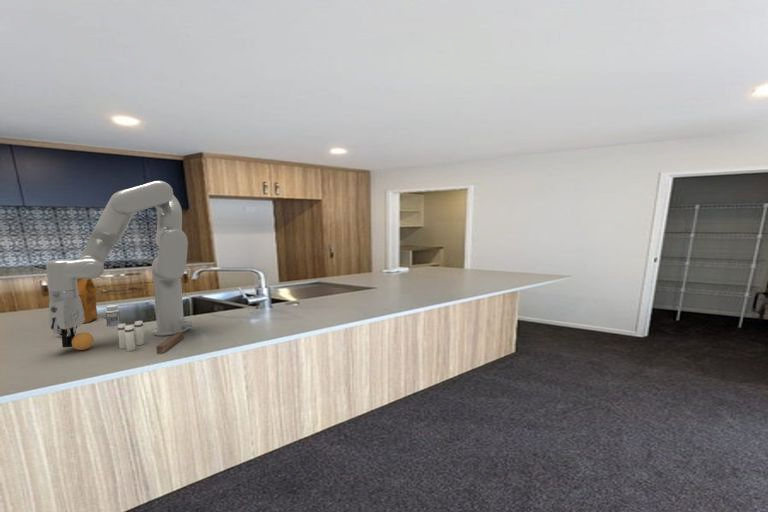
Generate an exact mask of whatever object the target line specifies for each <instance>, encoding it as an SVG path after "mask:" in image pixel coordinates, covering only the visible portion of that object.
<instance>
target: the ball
mask: <svg viewBox="0 0 768 512" xmlns="http://www.w3.org/2000/svg"><path fill="white" fill-rule="evenodd" d="M94 341H95V340H94V336H93V335H92V334H91V333H88V332H80V333H77V334H75V336H74V338H73V339H72V346H73V347H72V348H74V349H75V350H78V351H85V350H87V349H89V348H91V347H92V346H93V344H94Z"/></svg>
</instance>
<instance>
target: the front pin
mask: <svg viewBox="0 0 768 512" xmlns="http://www.w3.org/2000/svg"><path fill="white" fill-rule="evenodd" d="M125 326H127V323H120V324H118V325H117V333H118V345H119V349H120V350H121V349H122V350H123V349H126V336H125Z"/></svg>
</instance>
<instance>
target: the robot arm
mask: <svg viewBox="0 0 768 512" xmlns="http://www.w3.org/2000/svg"><path fill="white" fill-rule="evenodd" d="M173 190H174V189H173V187H172V186H171V185H170V184H169V183H167V182H166V181H164V180H163V181H162V180H154V181H150V182H147V183H144V184H141V185H137V186H134V187H130V188H127V189H122V190H118V191H116V192H115V193H114V194H113V193H112V196H111V197H110V198H109V200H108V202H107V204H106V205H105V207H104V210H103V211H102V213H101V215H100V217H99V219H98V221H97V223H95V224H96V225H95V226H94V229H93V230H92V233H91V235H90V237H89V239H88V241H87V243H86V245H85V247H84V249H83V250H82V252H81V254H80V256H79V258H78V259H76V260H75V259H74V260H73V259H69V258H67V259H66V258H65V259H63V258H62V259H52V260H49V261H47V262H46V263H45V264H46V267H45V269H46V277H47V285H48V294H49V295H48V296H49V305H48V323H49V328H50V330H52V334H53V335H59V337H61V343H62V345H61V346H62V348H74V347H73V346H72V339H73V338H74V336H76V335H77V334H76V333H77V330H78V328H79V327H80V326H81V325H82V324H84V323H83V322H84V321H85V317H84V310H83V305H82V302H81V299H80V297H79V295H78V285H77V279H92V280H94V279H98V278H99V277H101V276H102V275H103V273H104V272H105V266H104V264H105V262H106V261H107V259H108V256H109V255H110V252H111V251H112V250H113V248H114V247H115V245H116V244H118V243H119V242H120V240H121V239H122V237H123V236H124V234H125V231H126V230H127V228H128V227H129V224H130V223H131V222H130V221H131V220H132V218H133V216H134V214H135V213H139V212H141V211H145V210H148V209H151V208H154V207H155V209H156V213H157V221H156V223H157V224H156V234H155V243H156V245H157V247H158V256H156V257H155V258H154V260H153V261H152V263H151V274H152V279H153V280H152V281H153V288H154V304H155V305H154V306H155V317H156V328H154V329H153V330H152V334H153V335H154V336H158V337H159V336H161V337H162V336H173V335H174V334H176V333H177V332H183V333H184V332H186V331H188V330H189V327H191V328H193V327H194V326H195V323H194V320H187V318H186V317H184V306H183V305H184V304H183V303H184V302H183V287H182V286H183V285H182V278H181V277H183V275H184V274H185V271H186V269H187V268H186V267H187V259H188V245H189V243H188V236H187V235H186V233H185V232H184V231H183V211H182V206H181V204H180V202H179V200H178V198H177V197H176V196H175V195H174V191H173Z"/></svg>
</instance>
